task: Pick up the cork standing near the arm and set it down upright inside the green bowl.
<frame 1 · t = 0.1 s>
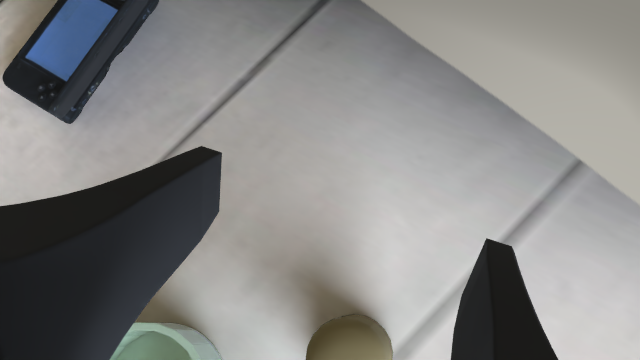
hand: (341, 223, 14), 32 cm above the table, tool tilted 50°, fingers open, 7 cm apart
cork: (355, 352, 44), on the table
game console: (101, 53, 54), on the table
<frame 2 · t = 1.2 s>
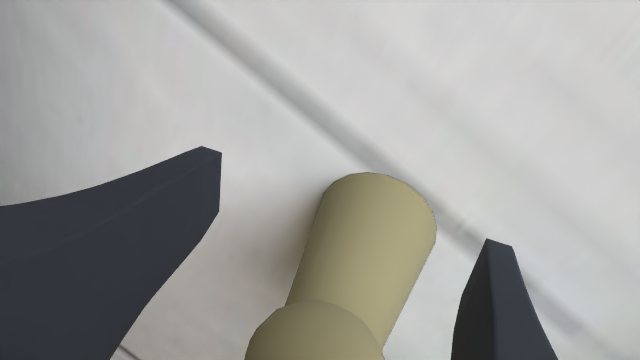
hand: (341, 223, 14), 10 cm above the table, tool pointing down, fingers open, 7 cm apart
cork: (376, 222, 27), on the table
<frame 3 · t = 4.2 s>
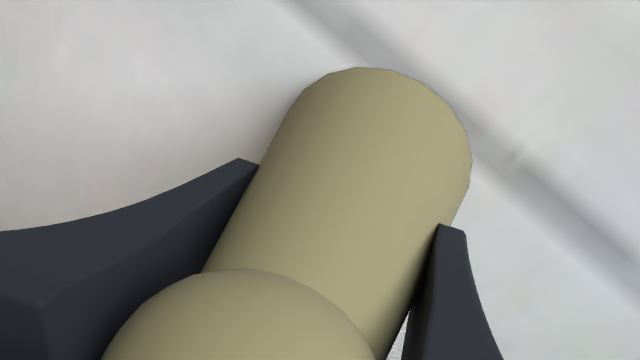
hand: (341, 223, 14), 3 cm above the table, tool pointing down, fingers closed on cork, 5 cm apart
cork: (373, 157, 17), on the table, touching gripper
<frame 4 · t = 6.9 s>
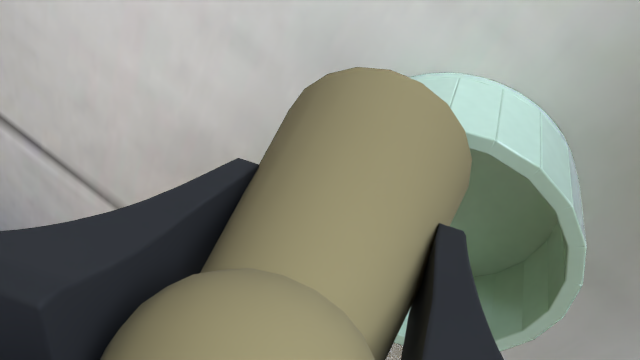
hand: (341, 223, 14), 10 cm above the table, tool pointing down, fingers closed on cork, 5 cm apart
cork: (373, 156, 17), point 7 cm above the table, touching gripper
green bowl: (445, 185, 25), on the table
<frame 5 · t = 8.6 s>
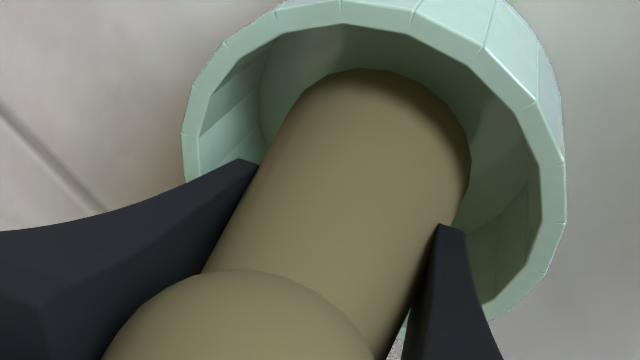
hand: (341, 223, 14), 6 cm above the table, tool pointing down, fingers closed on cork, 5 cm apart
cork: (373, 157, 17), point 3 cm above the table, touching gripper
green bowl: (392, 122, 19), on the table
when the fingers open (4 cm above the table, at t = 9.8 s): cork stays where it is, resting on green bowl.
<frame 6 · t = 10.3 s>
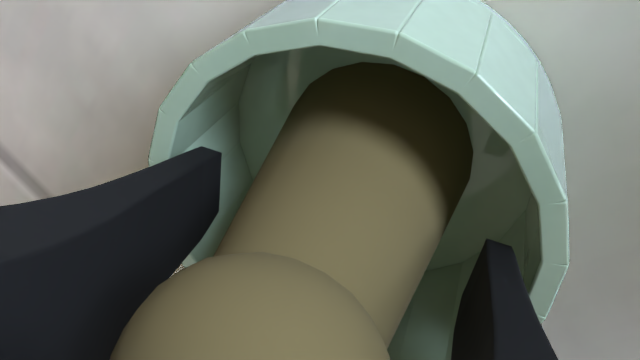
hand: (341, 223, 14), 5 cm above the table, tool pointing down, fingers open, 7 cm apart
cork: (377, 150, 17), resting on green bowl
green bowl: (381, 144, 18), on the table
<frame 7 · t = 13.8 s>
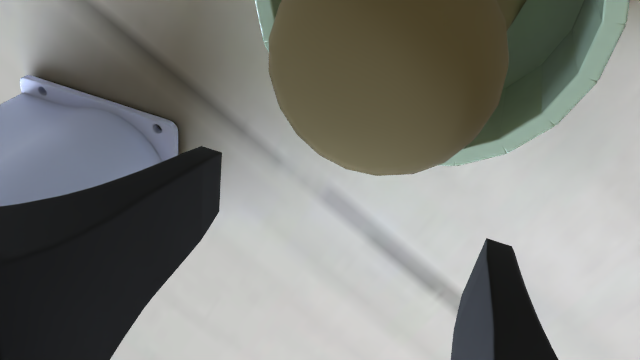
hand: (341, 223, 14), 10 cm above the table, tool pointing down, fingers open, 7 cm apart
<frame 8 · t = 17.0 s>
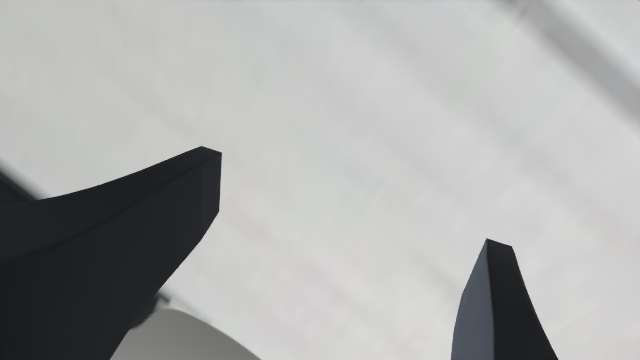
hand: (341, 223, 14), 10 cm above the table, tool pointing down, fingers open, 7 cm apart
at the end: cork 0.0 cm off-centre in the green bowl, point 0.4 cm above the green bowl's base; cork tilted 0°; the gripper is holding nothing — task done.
